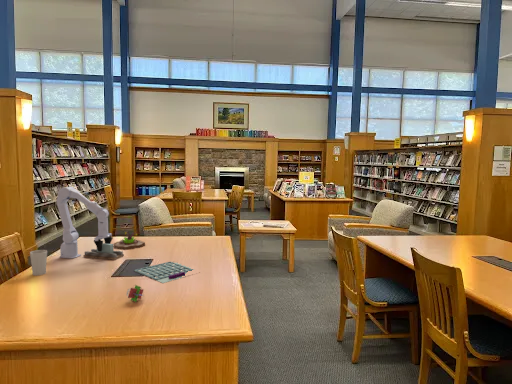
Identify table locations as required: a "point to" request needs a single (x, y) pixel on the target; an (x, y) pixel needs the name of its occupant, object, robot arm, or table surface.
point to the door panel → (106, 248)
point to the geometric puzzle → (135, 293)
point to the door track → (103, 255)
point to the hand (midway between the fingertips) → (103, 249)
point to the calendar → (164, 271)
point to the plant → (129, 242)
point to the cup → (38, 262)
